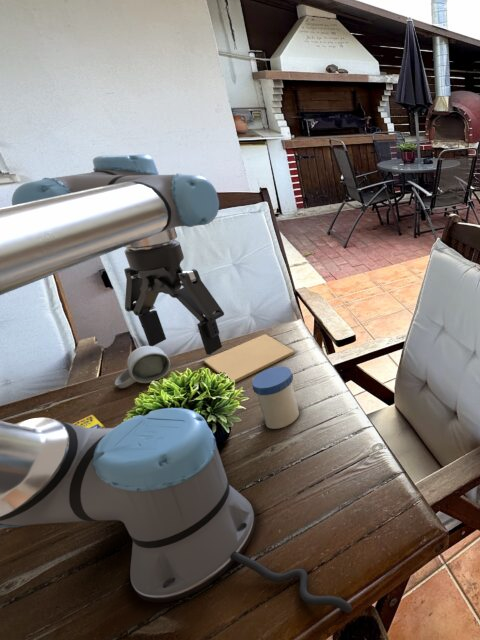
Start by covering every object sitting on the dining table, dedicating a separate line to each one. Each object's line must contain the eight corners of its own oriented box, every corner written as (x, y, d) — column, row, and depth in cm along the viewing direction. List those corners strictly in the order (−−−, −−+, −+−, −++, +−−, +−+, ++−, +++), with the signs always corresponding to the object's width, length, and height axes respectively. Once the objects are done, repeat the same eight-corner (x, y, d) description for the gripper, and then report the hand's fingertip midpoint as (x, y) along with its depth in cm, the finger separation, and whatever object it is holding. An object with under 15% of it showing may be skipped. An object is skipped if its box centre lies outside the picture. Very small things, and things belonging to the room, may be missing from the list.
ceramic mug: (166, 361, 108) (157, 337, 105) (175, 373, 103) (165, 348, 100) (114, 382, 100) (102, 356, 97) (120, 395, 95) (108, 369, 92)
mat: (294, 353, 112) (294, 350, 111) (231, 384, 99) (231, 381, 99) (265, 336, 120) (265, 333, 120) (204, 362, 107) (203, 360, 107)
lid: (300, 380, 86) (298, 373, 85) (264, 400, 80) (262, 393, 80) (282, 369, 90) (280, 362, 89) (246, 386, 84) (244, 379, 84)
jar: (305, 414, 89) (296, 376, 86) (275, 433, 84) (264, 393, 80) (289, 403, 93) (279, 365, 89) (259, 420, 88) (248, 381, 84)
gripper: (228, 241, 72) (255, 343, 79) (120, 233, 77) (154, 330, 84) (188, 255, 65) (221, 365, 72) (72, 245, 70) (114, 349, 77)
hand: (185, 346), depth 78 cm, fingers open, 13 cm apart
